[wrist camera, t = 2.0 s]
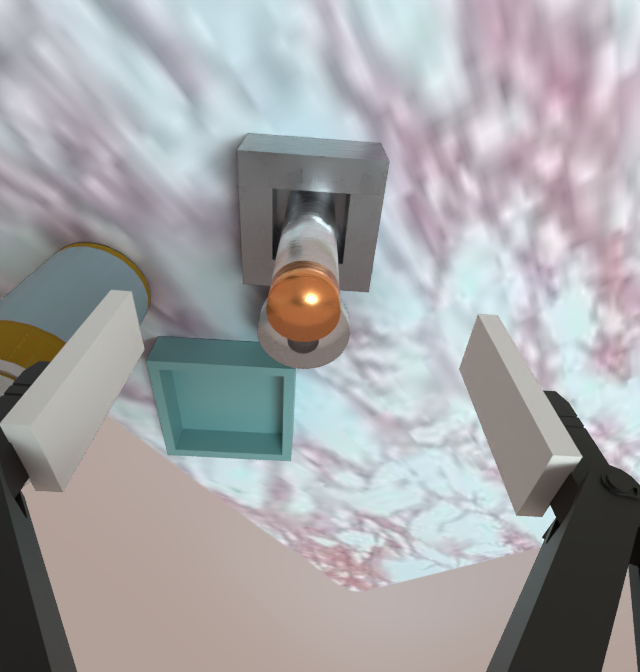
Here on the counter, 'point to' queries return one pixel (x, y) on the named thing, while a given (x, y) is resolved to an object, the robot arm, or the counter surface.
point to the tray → (222, 399)
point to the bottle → (61, 304)
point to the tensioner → (269, 211)
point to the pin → (306, 270)
